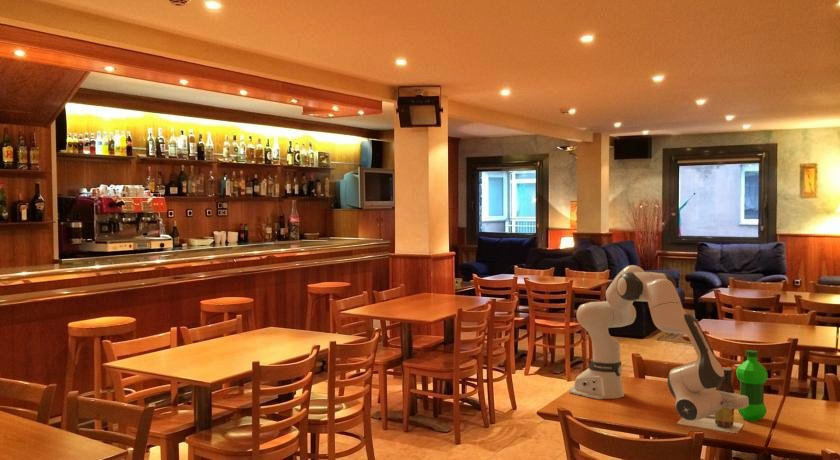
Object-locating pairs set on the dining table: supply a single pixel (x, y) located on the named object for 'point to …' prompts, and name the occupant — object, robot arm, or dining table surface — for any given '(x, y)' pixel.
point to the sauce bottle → (725, 414)
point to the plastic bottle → (752, 386)
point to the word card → (711, 416)
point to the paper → (711, 425)
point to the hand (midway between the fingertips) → (725, 393)
